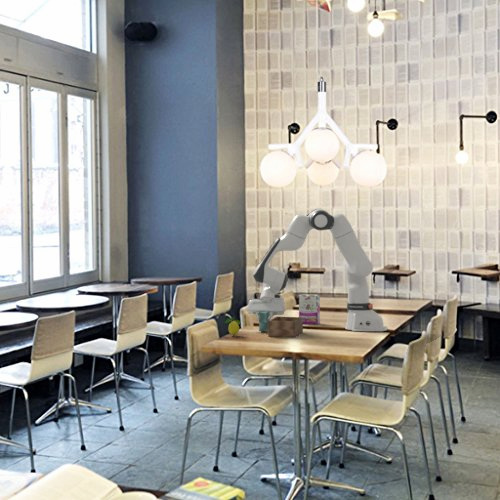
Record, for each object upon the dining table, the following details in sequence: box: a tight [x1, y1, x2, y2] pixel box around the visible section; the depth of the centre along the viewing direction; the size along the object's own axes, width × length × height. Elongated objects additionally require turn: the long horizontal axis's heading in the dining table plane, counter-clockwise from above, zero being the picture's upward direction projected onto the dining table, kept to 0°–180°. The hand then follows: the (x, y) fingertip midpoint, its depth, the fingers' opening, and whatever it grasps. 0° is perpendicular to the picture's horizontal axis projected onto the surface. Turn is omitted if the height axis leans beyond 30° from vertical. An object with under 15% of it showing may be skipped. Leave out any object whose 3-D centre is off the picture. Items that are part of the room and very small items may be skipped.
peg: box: [258, 311, 269, 332], centre depth 422 cm, size 4×4×10 cm
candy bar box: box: [298, 294, 321, 325], centre depth 451 cm, size 11×5×16 cm, turn 68°
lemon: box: [224, 317, 242, 337], centre depth 409 cm, size 7×6×10 cm
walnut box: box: [267, 316, 304, 338], centre depth 412 cm, size 14×17×8 cm
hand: (263, 319), depth 422 cm, fingers closed on peg, 4 cm apart
